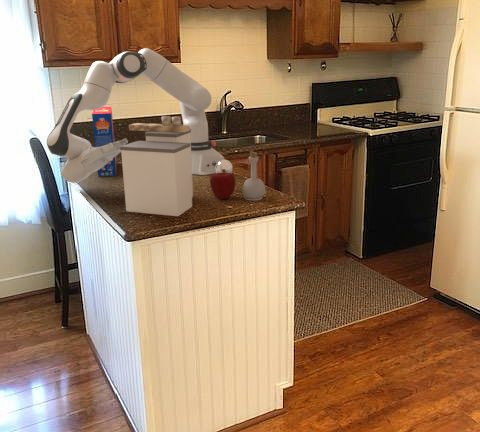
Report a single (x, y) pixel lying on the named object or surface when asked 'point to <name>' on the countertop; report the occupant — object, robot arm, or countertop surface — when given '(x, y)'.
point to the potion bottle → (253, 182)
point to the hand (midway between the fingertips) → (119, 142)
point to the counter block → (158, 173)
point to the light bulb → (224, 166)
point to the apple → (222, 185)
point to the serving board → (162, 125)
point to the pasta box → (104, 136)
